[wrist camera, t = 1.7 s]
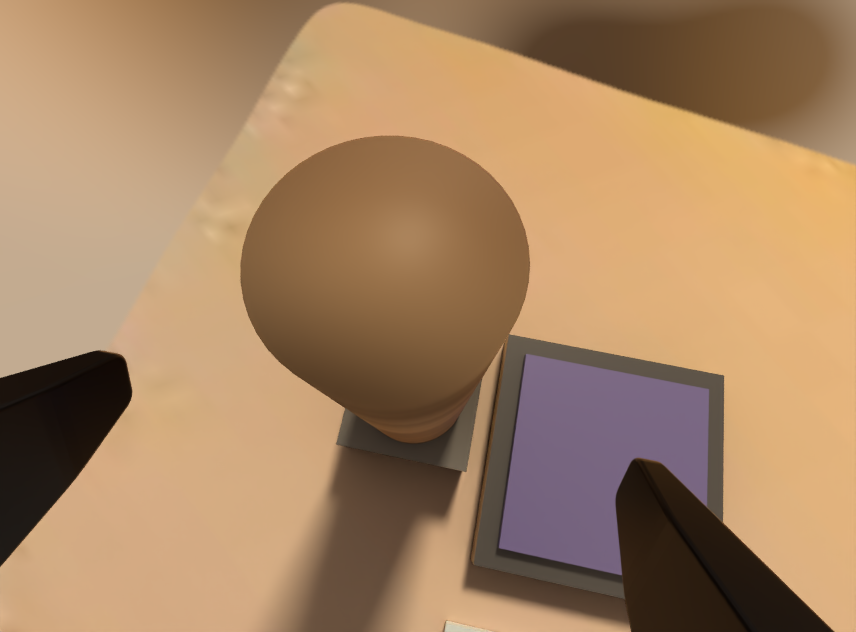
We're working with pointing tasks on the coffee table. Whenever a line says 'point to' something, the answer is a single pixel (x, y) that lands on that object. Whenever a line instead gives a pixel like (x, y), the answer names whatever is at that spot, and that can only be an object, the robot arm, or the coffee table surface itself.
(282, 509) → the coffee table surface
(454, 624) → the print card
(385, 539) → the coffee table surface
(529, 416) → the ink pad
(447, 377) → the wooden handle on base
